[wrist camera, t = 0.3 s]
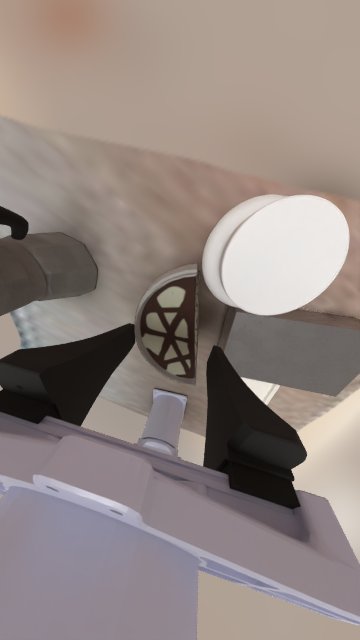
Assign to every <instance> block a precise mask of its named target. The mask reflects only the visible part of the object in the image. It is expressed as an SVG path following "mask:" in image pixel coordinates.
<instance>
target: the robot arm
mask: <svg viewBox="0 0 360 640" xmlns="http://www.w3.org/2000/svg"><path fill="white" fill-rule="evenodd" d="M134 344H135V325H134V324H130V323H129V324H126V325H123V326H121V327H118V328H116V329H113V330H111V331H108V332H106V333H103V334H100V335H97V336H94V337H91V338H87V339H84V340H80V341H75V342H70V343H66V344H60V345H54V346H47V347H39V348H29V349H19V350H17V351H15V352H13V353H11V354H9V355H7V356H6V357H4V358H2V359H0V385H1V387H2V388H3V390H1V391H0V494H3V497H2V498H1V499H0V640H197V606H198V604H197V603H198V570H200V571H203V572H206V573H208V574H211V575H214V576H217V577H220V578H222V579H225V580H228V581H231V582H234V583H237V584H239V585H242V586H245V587H248V588H251V589H253V590H256V591H259V592H262V593H265V594H268V595H270V596H273V597H276V598H279V599H281V600H284V601H287V602H290V603H292V604H295V605H298V606H300V607H303V608H306V609H308V610H312V611H314V612H317V613H319V614H322V615H324V616H327V617H330V618H332V619H336V620H340V621H344V622H348V623H352V624H355V625H360V564H359V562H358V560H357V558H356V556H355V554H354V552H353V550H352V548H351V546H350V544H349V542H348V540H347V538H346V536H345V534H344V532H343V530H342V528H341V526H340V524H339V522H338V520H337V518H336V516H335V514H334V511H333V509H332V507H331V506H330V503H329V502H328V500H327V499H326V498H323V497H320V496H317V495H314V494H311V493H308V492H305V491H300V490H295V489H294V487H293V484H292V481H294V476H293V473H292V471H291V469H292V468H294V467H296V466H298V465H299V464H301V463H302V462H304V461H305V459H306V457H307V452H306V450H305V448H304V446H303V444H302V442H301V440H300V438H299V436H298V434H297V432H296V430H295V429H294V428H292V427H291V426H290V425H289V424H288V423H286V422H285V421H284V420H283V419H281V418H280V417H279V416H278V415H277V414H276V413H274V412H273V411H272V410H271V409H270V408H269V407H268V406H267V405H266V404H265V403H264V402H263V401H261V400H260V399H259V398H258V396H257V395H256V394H255V393H254V392H253V391H252V390H251V389H250V388H249V387H248V386H247V385H246V383H245V382H244V381H243V380H242V379H241V377H240V376H239V375H238V373H237V372H236V371H235V369H234V368H233V366H232V365H231V363H230V362H229V360H228V359H227V357H226V355H225V354H224V352H223V350H222V349H221V347H218V346H213V348H212V351H211V354H210V356H209V359H208V361H207V370H206V376H207V396H208V408H207V427H206V442H205V453H204V464H203V466H200V465H197V464H193V463H190V462H187V461H184V460H181V458H180V457H177V456H178V449H177V447H178V440H179V434H180V427H181V421H182V419H183V416H184V411H185V406H186V400H187V396H184V395H180V394H176V393H171V392H167V391H163V390H158V389H154V390H153V406H152V409H151V411H150V414H149V417H148V420H147V423H146V426H145V429H144V431H143V434H142V437H141V438H139V440H138V443H137V444H135V443H134V444H132V443H129V442H126V441H123V440H120V439H117V438H114V437H111V436H108V435H105V434H101V433H98V432H95V431H92V430H89V429H86V428H83V427H81V425H82V423H83V421H84V419H85V417H86V415H87V414H88V412H89V410H90V408H91V407H92V405H93V403H94V402H95V400H96V398H97V396H98V395H99V393H100V392H101V390H102V388H103V387H104V385H105V384H106V382H107V381H108V379H109V378H110V376H111V375H112V373H113V372H114V371H115V369H116V368H117V367H118V366H119V364H120V363H121V362H122V361H123V359H124V358H125V357H126V356H127V354H128V353H129V352H130V350H131V349H132V347H133V345H134Z"/></svg>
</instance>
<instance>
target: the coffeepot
mask: <svg viewBox="0 0 360 640" xmlns="http://www.w3.org/2000/svg"><path fill="white" fill-rule="evenodd" d="M0 224H2V225H7V226H10V227H11V235H9V236H7V237H4V238H2V239H0V316H2V315H4V314H6V313H9V312H11V311H13V310H16V309H18V308H20V307H23V306H25V305H27V304H29V303H31V302H32V301H36V300H38V301H44V300H51V299H59V298H66V297H74V296H80V295H83V294H85V293H87V292H90V291H92V290H95V286H96V282H97V267H96V265H95V262H94V260H93V258H92V256H91V255H90V253H89V252H88V250H87V249H86V248H85V247H84V245H83V244H82V243H80V242H78V241H77V240H75V239H74V238H71V237H69V236H66V235H64V234H63V233H61V232H55V233H39V234H27V233H28V222H27V221H26V220H25V219H24V218H23V217H22V216H20V215H18V214H16V213H14V212H12V211H10V210H8V209H6V208H3V207H1V206H0Z"/></svg>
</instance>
